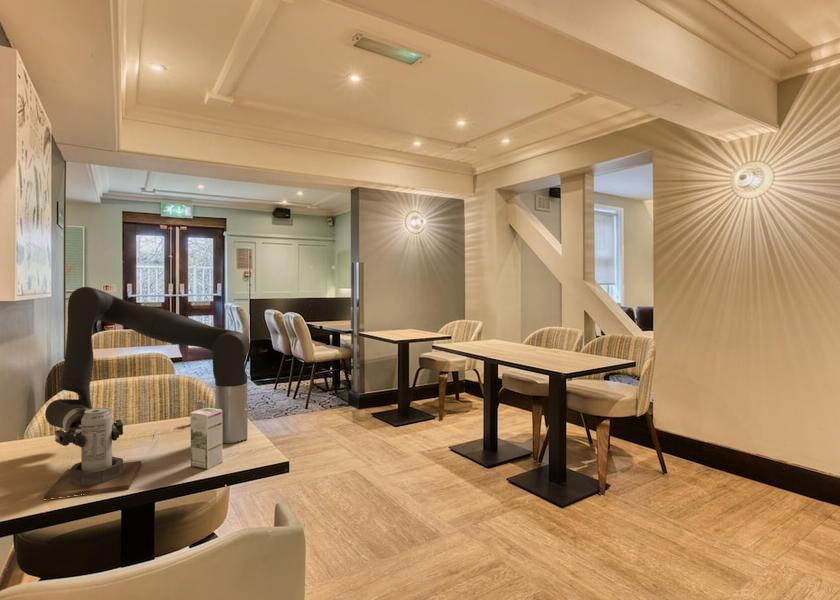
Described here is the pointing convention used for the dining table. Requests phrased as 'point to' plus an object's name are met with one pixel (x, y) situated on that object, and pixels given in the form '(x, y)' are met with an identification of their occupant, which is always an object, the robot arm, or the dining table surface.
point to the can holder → (95, 479)
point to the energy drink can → (96, 439)
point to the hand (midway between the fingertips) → (99, 439)
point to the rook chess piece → (200, 404)
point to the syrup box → (206, 438)
